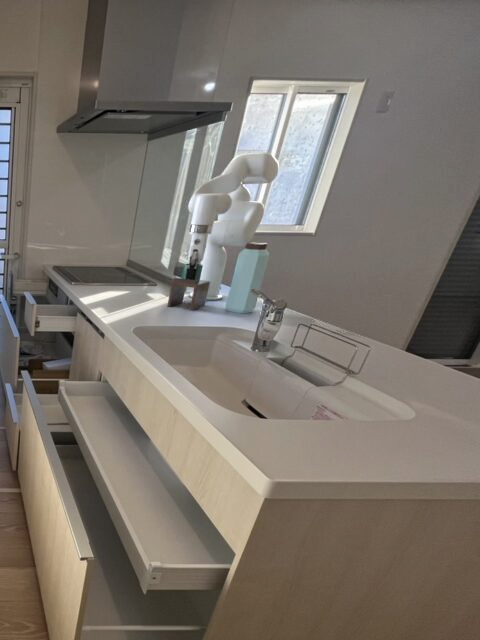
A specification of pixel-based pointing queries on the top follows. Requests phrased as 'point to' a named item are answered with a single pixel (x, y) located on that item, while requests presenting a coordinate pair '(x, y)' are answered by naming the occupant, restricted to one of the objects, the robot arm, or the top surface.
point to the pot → (198, 271)
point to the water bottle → (247, 277)
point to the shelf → (179, 290)
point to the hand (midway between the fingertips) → (190, 277)
